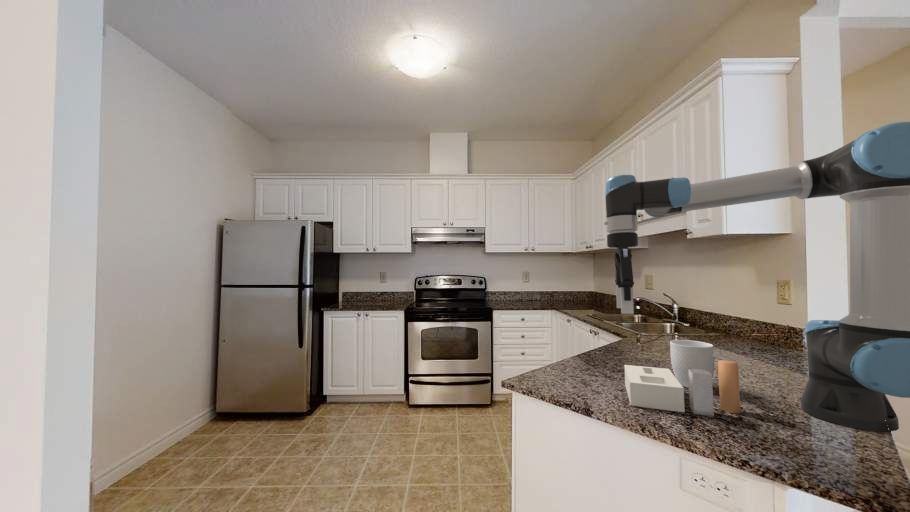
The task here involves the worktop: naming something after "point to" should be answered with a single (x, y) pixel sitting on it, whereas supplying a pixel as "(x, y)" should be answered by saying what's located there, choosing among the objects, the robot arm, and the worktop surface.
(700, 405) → the square bit
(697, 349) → the mug
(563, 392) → the worktop surface
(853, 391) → the robot arm
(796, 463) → the worktop surface
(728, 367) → the dowel
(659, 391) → the socket block
